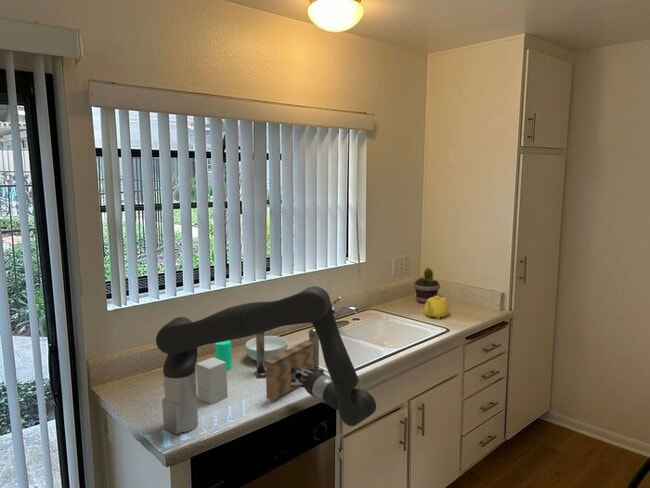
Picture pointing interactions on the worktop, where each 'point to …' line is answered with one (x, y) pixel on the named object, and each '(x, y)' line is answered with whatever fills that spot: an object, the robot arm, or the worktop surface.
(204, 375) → the supplement box
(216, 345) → the candle
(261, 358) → the gate posts
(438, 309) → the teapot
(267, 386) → the gate
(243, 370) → the worktop surface
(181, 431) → the robot arm
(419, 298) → the flowerpot
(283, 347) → the cereal bowl
